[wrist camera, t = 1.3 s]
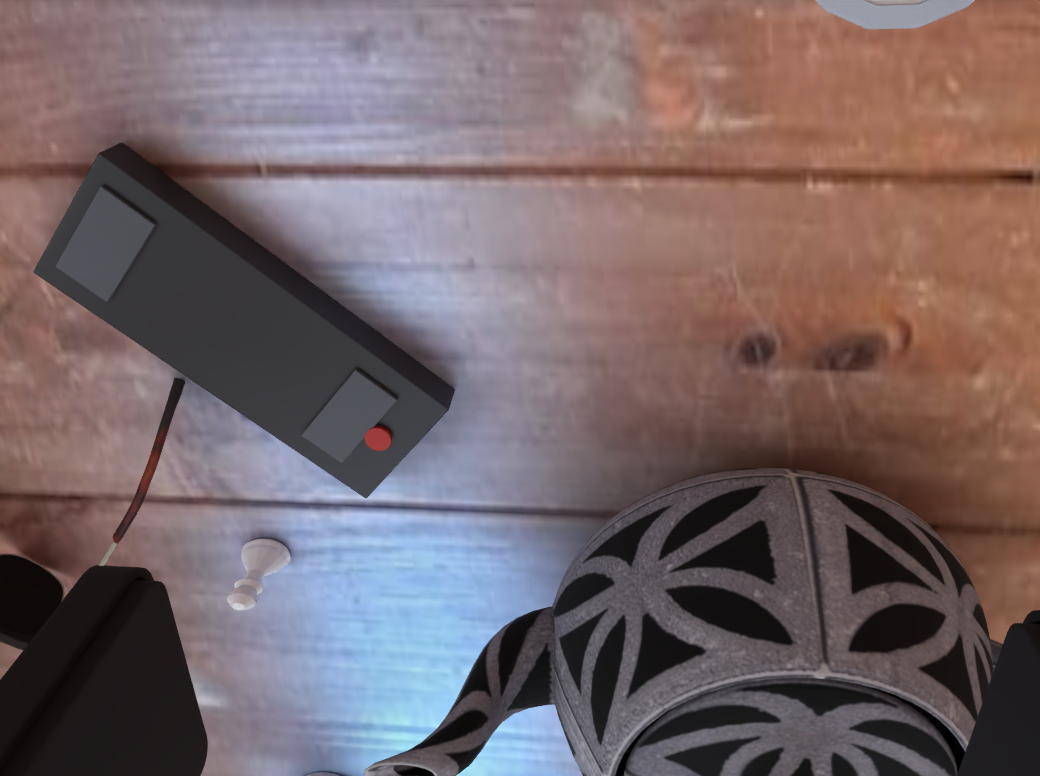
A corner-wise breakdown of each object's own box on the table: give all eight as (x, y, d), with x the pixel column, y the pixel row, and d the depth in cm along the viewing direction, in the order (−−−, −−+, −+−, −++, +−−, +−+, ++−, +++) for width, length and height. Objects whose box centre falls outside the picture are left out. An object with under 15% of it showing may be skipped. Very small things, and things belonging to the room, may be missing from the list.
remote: (56, 257, 38) (28, 274, 36) (121, 141, 35) (95, 154, 33) (375, 477, 42) (364, 502, 40) (455, 389, 39) (448, 412, 37)
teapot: (403, 415, 40) (305, 661, 27) (1104, 433, 37) (1375, 717, 24) (432, 705, 49) (369, 994, 36) (997, 736, 46) (1151, 1060, 33)
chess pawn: (246, 566, 45) (216, 621, 42) (239, 536, 44) (207, 589, 41) (295, 568, 45) (269, 623, 41) (288, 537, 44) (261, 591, 41)
